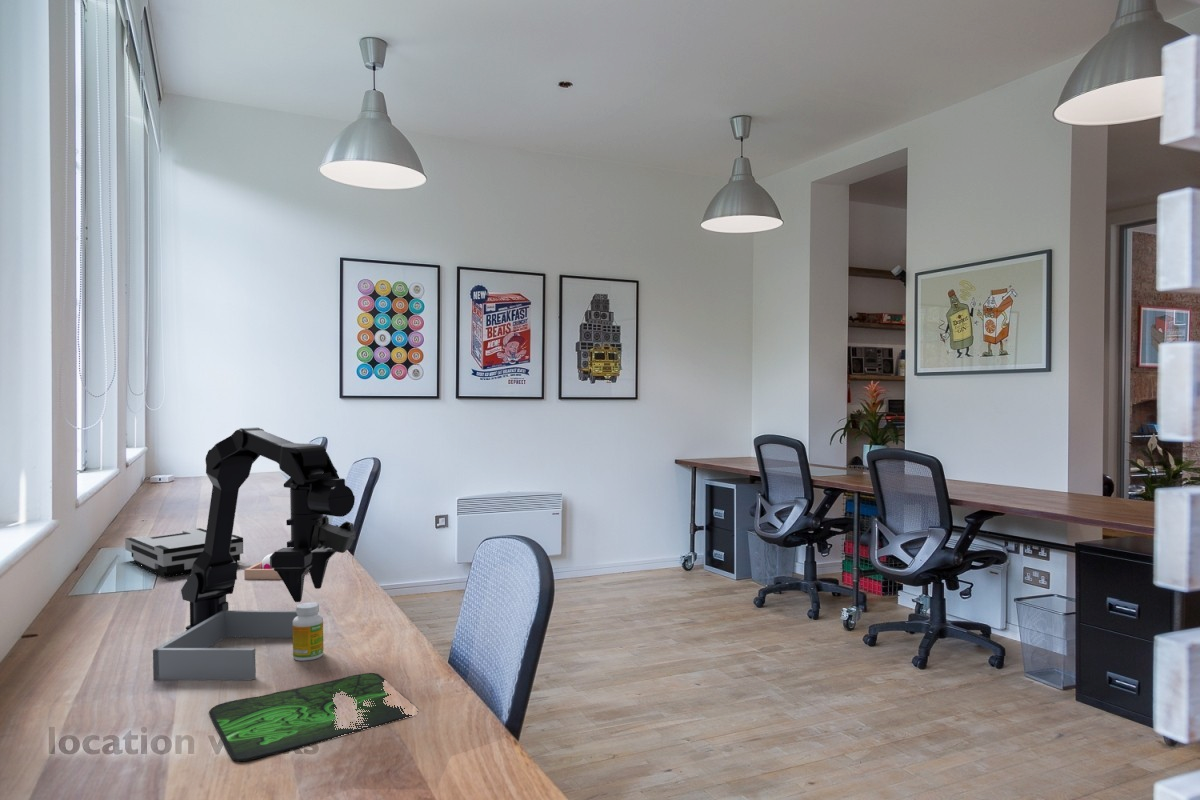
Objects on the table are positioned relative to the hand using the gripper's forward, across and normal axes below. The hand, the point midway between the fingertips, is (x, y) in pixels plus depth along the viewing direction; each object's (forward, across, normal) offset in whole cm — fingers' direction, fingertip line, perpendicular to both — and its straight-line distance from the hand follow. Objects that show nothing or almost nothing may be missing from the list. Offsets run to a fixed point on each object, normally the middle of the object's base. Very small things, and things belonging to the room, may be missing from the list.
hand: (308, 594), depth 142 cm
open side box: (+12, 0, +14) cm, 18 cm away
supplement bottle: (+12, 0, 0) cm, 12 cm away
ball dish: (+11, +63, +34) cm, 73 cm away
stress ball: (+12, +61, +36) cm, 72 cm away
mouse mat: (+12, -24, -11) cm, 29 cm away
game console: (+12, +75, +68) cm, 102 cm away
